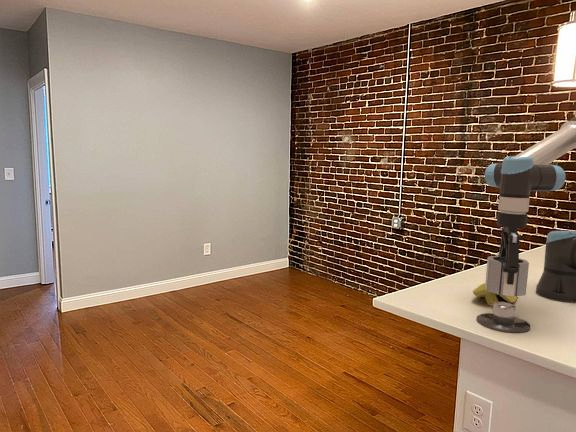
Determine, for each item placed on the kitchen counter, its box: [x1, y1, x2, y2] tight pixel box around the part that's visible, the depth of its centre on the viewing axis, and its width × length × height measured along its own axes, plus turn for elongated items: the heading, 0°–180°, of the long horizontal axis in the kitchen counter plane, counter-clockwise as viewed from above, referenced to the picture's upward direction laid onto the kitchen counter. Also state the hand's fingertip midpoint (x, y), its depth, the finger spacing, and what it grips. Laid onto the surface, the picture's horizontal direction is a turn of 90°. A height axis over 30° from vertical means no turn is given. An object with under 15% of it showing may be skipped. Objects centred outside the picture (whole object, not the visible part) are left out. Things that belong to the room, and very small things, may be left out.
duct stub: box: [475, 301, 532, 334], centre depth 125 cm, size 14×14×6 cm
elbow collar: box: [485, 255, 530, 297], centre depth 124 cm, size 10×10×9 cm
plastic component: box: [472, 283, 519, 306], centre depth 146 cm, size 20×7×10 cm
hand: (505, 289), depth 124 cm, fingers closed on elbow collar, 10 cm apart
